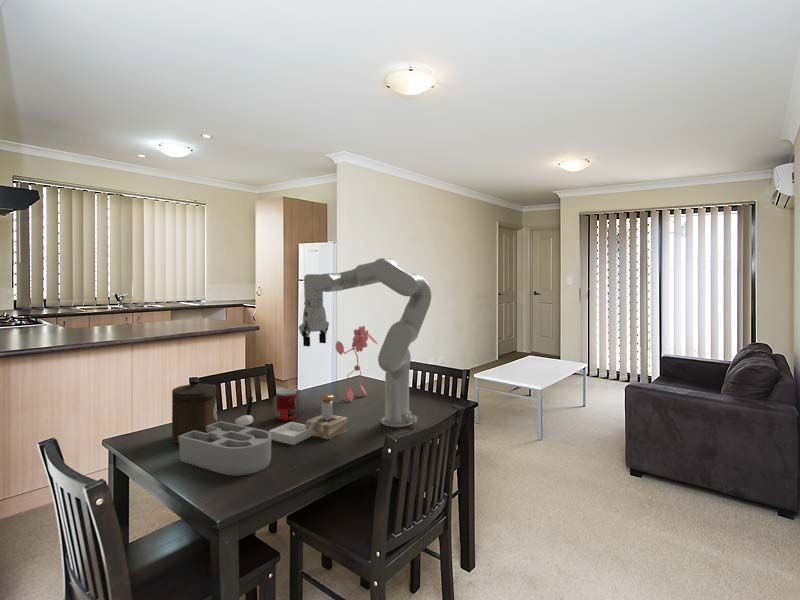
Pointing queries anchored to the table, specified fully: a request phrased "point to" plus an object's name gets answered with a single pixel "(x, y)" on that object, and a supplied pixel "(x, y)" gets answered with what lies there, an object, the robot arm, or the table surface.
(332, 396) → the steel pin
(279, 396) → the canned food
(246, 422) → the white oval with stem
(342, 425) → the socket block
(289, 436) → the tray
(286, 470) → the table surface
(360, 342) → the pink stick figure
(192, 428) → the wooden container
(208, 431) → the grey compartment organizer
